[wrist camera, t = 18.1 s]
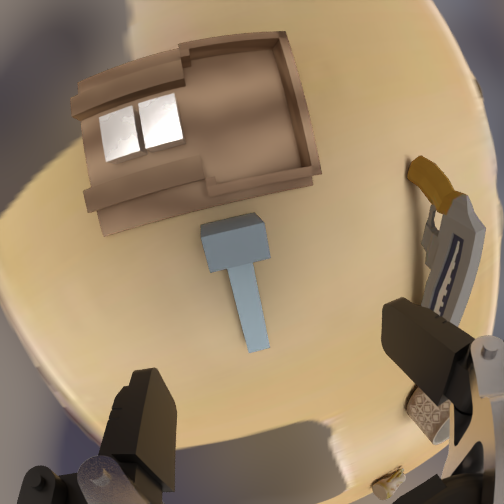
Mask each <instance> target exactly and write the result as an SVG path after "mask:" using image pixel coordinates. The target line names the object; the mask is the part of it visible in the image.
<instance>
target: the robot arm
mask: <svg viewBox="0 0 504 504" xmlns="http://www.w3.org/2000/svg"><path fill="white" fill-rule="evenodd" d="M381 342H382V346H383V349H384V351H385V353H386V354H387V355H388V356H389V357H390V358H391V359H392V360H393V361H394V362H395V363H396V364H397V365H398V366H399V367H400V368H401V369H402V370H403V371H404V372H405V373H406V374H407V376H408V377H409V378H410V379H411V380H412V381H413V382H414V383H415V384H416V385H417V386H418V387H419V388H420V389H421V390H422V391H423V392H424V393H425V394H426V395H427V396H428V397H429V398H430V399H431V400H432V401H433V402H434V403H435V405H436V406H437V407H438V406H439V405H441V404H442V403H444V402H445V401H447V400H448V399H449V400H450V401H451V405H450V437H449V453H448V457H447V460H446V462H445V466H444V469H443V472H442V477H441V479H440V478H439V476H438V475H437V474H436V475H434V476H433V477H431V478H430V479H428V480H427V481H426V482H424V483H422V484H421V485H419V486H417V487H416V488H414V489H413V490H411V491H409V492H407V493H406V494H404V495H402V496H401V497H399V498H398V499H397V500H396V501H395V502H393V504H504V341H502V340H501V339H499V338H497V337H494V336H489V335H488V336H481V337H478V338H477V339H474V338H473V337H472V336H470V335H469V334H467V333H466V332H464V331H463V330H461V329H460V328H458V327H457V326H455V325H454V324H452V323H451V322H449V321H448V322H447V320H446V319H445V318H443V317H442V316H439V314H437V313H435V312H434V311H432V310H431V309H429V308H426V307H422V306H419V305H415V304H413V303H412V302H410V301H409V300H407V299H406V298H403V297H401V298H399V299H396V300H394V301H391V302H389V303H387V304H385V305H384V306H383V309H382V334H381ZM176 425H177V409H176V405H175V402H174V399H173V397H172V396H171V394H170V392H169V390H168V388H167V386H166V385H165V383H164V381H163V379H162V377H161V375H160V373H159V371H158V370H157V369H156V368H149V369H142V370H135V371H134V372H133V374H132V377H131V380H130V383H129V386H124V387H123V388H122V389H121V391H120V392H119V393H118V394H117V396H116V397H115V400H114V403H113V406H112V411H111V412H110V416H109V420H108V422H107V426H106V429H105V432H104V436H103V440H102V443H101V447H100V451H99V454H98V456H94V457H91V458H89V459H88V460H86V461H85V462H84V463H83V464H82V465H81V466H80V468H79V470H78V473H73V474H67V475H61V476H57V475H56V474H55V473H54V472H53V471H51V470H50V469H49V468H48V467H46V466H35V467H33V468H31V469H30V470H29V471H28V472H27V473H26V475H25V477H24V480H23V483H22V486H21V490H20V494H19V497H18V501H17V504H165V503H163V502H162V492H175V447H176Z"/></svg>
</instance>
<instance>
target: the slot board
mask: <svg viewBox="0 0 504 504" xmlns="http://www.w3.org/2000/svg"><path fill="white" fill-rule="evenodd" d="M178 46H179V48H177V49H173V50H169V51H165V52H161V53H157V54H154V55H150V56H147V57H143V58H140V59H137V60H134V61H131V62H128V63H125V64H122V65H119V66H117V67H114V68H111V69H108V70H106V71H103V72H101V73H98V74H96V75H94V76H91V77H89V78H87V79H85V80H82V81H80V82H78V95H76V96H74V97H71V98H70V102H71V116H72V117H73V118H75V119H77V120H79V121H81V129H82V137H83V144H84V151H85V157H86V163H87V168H88V174H89V179H90V184H91V188H89V189H86V190H84V191H83V194H84V198H85V203H86V207H87V211H88V213H91V212H94V211H97V214H98V218H99V222H100V226H101V230H102V233H103V237H105V236H108V235H111V234H114V233H118V232H121V231H124V230H128V229H131V228H135V227H138V226H142V225H145V224H149V223H152V222H156V221H160V220H163V219H167V218H171V217H174V216H178V215H182V214H186V213H190V212H194V211H198V210H202V209H206V208H210V207H214V206H218V205H222V204H227V203H231V202H235V201H240V200H244V199H248V198H253V197H258V196H262V195H267V194H272V193H276V192H281V191H286V190H291V189H296V188H301V187H307V186H312V185H313V181H312V176H313V175H319V174H322V171H321V166H320V161H319V156H318V151H317V146H316V142H315V137H314V133H313V128H312V124H311V120H310V115H309V111H308V107H307V103H306V99H305V96H304V92H303V88H302V84H301V81H300V77H299V74H298V70H297V67H296V63H295V60H294V57H293V53H292V50H291V47H290V44H289V41H288V38H287V35H286V32H285V31H276V32H256V33H244V34H234V35H226V36H219V37H212V38H206V39H200V40H195V41H190V42H185V43H180V44H178ZM173 93H174V94H175V97H176V100H177V103H178V107H179V113H180V118H181V123H182V128H183V133H184V138H185V143H186V144H183V145H179V146H175V147H172V148H168V149H164V150H161V151H157V152H154V153H152V152H151V151H149V150H147V149H146V150H147V155H144V156H141V157H137V158H134V159H131V160H128V161H125V162H122V163H119V164H113V163H108V162H106V160H105V154H104V148H103V142H102V136H101V129H100V122H99V117H101V116H104V115H107V114H109V113H112V112H115V111H117V110H120V109H123V108H126V107H129V106H133V107H134V108H135V109H136V110H137V111H138V112H139V107H138V103H141V102H144V101H147V100H151V99H154V98H158V97H161V96H165V95H169V94H173Z"/></svg>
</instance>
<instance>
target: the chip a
mask: <svg viewBox="0 0 504 504" xmlns="http://www.w3.org/2000/svg"><path fill="white" fill-rule="evenodd" d="M99 122H100V129H101V136H102V142H103V148H104V154H105V160H106V162H108V163H113V164H119V163H122V162H125V161H128V160H131V159H134V158H137V157H141V156H144V155H147V150H146V147H145V142H144V136H143V131H142V125H141V119H140V113H139V112H138V111H137V110H136V109H135V108H134V107H133V106H129V107H126V108H123V109H120V110H117V111H115V112H112V113H109V114H107V115H104V116H101V117H99Z"/></svg>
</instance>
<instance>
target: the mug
mask: <svg viewBox="0 0 504 504" xmlns="http://www.w3.org/2000/svg"><path fill="white" fill-rule="evenodd" d="M400 471H401V472H400ZM403 471H404V468H402V469H399V470H398V471H397V472H396V473H395V474H394V475H392V476H391V477H389V478H385V479H382V480H379V481H378V482H376V483H375V484H374V485H373V487H372V490H373V493H374V494H375V495H376V496H377V497H378V498H379V499H381V500H386V499H388V498H390V497H391V496H392V495H393V494H394V493H395V491H396V489H397V488H398V487H399V485H400V484H401V483H403V482H404V481H405V479H406V475H405V474H404V473H403Z"/></svg>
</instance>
